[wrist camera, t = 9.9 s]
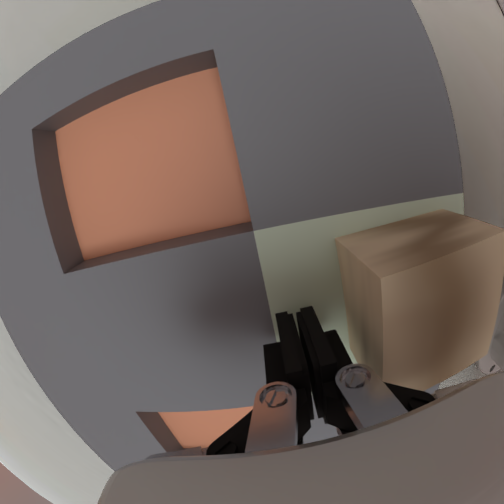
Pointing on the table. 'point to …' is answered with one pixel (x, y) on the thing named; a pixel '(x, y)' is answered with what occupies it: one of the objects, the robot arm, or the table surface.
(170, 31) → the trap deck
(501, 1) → the medicine bottle
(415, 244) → the beech block
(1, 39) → the table surface
